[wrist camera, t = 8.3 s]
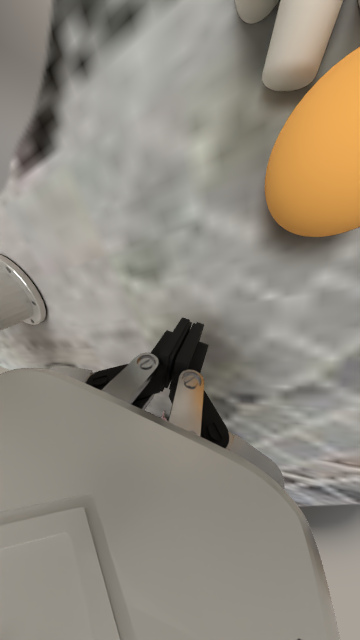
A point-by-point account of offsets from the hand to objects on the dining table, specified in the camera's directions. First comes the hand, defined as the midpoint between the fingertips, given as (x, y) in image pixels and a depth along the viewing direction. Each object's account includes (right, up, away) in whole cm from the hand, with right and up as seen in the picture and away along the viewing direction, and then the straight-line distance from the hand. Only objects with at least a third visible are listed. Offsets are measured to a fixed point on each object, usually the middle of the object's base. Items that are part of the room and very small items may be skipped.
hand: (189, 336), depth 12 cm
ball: (+6, +8, -5) cm, 12 cm away
